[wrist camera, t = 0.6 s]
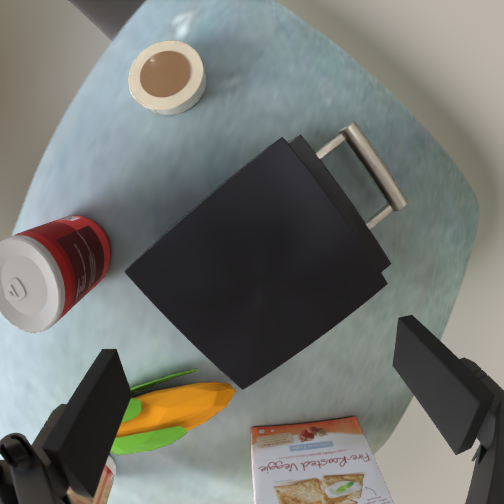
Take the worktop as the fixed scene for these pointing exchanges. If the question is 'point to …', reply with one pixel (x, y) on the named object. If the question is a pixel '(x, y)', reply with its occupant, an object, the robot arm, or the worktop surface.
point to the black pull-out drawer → (339, 198)
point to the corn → (168, 413)
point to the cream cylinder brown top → (167, 78)
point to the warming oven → (258, 267)
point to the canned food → (50, 270)
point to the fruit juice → (103, 487)
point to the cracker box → (315, 465)
